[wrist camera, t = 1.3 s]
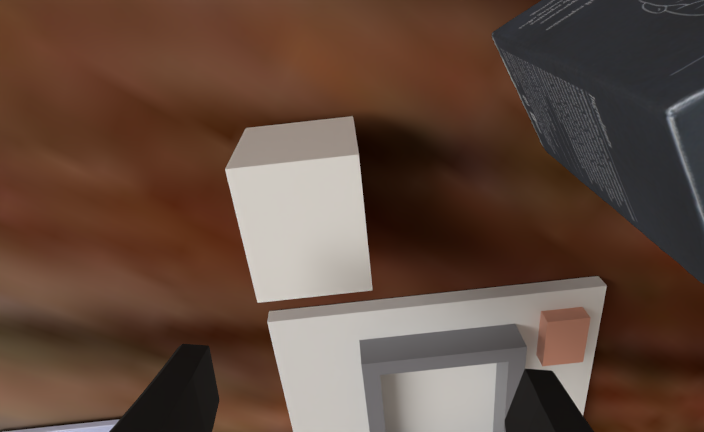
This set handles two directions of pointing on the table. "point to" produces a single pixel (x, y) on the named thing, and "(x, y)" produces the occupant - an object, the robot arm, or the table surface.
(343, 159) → the plug
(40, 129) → the table surface
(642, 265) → the table surface
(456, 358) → the socket plate
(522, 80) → the box
